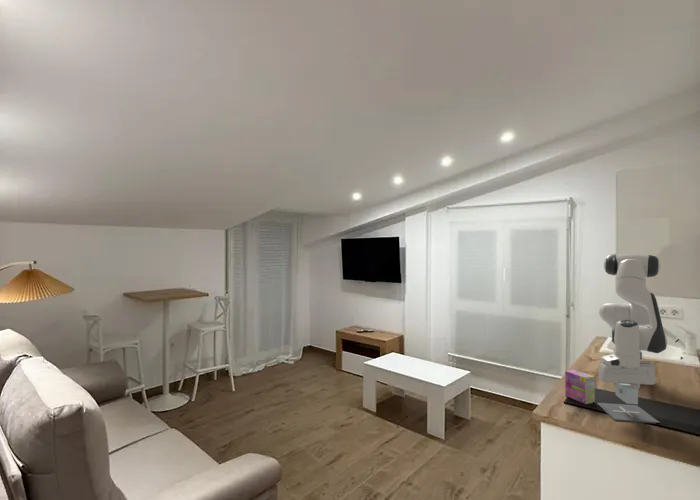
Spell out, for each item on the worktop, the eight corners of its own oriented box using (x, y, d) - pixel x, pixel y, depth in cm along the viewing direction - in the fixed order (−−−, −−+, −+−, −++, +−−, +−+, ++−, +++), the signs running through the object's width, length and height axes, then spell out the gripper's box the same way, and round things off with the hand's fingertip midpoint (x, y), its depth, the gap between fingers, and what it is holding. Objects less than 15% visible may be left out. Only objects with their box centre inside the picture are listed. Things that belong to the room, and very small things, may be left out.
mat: (596, 404, 169) (596, 402, 169) (636, 406, 166) (636, 405, 166) (614, 420, 153) (614, 418, 153) (659, 423, 150) (659, 422, 150)
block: (626, 403, 155) (627, 388, 155) (615, 395, 164) (615, 380, 164) (638, 404, 155) (638, 389, 154) (625, 395, 163) (626, 381, 163)
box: (564, 395, 178) (565, 370, 178) (573, 394, 180) (574, 369, 180) (585, 404, 168) (585, 377, 168) (594, 402, 170) (595, 376, 170)
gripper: (650, 359, 160) (649, 392, 161) (596, 356, 164) (596, 388, 164) (659, 363, 154) (659, 398, 154) (603, 361, 158) (603, 394, 158)
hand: (626, 393), depth 159 cm, fingers closed on block, 4 cm apart
